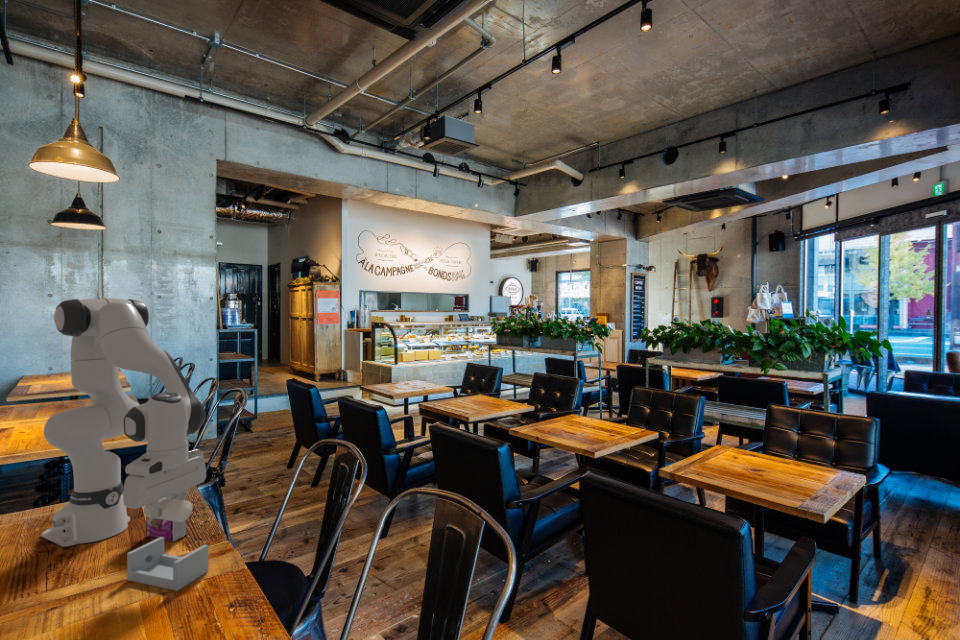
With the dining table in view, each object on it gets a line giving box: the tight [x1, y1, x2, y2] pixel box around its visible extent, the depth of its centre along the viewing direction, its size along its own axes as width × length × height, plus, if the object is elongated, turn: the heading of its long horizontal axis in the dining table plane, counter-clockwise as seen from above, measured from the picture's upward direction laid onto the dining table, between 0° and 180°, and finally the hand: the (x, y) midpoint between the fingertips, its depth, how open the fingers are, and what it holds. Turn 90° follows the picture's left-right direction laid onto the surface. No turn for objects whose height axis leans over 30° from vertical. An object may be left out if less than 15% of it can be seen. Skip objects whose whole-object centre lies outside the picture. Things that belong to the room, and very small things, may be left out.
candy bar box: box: [145, 492, 188, 543], centre depth 140 cm, size 11×5×16 cm, turn 71°
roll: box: [143, 498, 193, 522], centre depth 119 cm, size 10×5×5 cm, turn 74°
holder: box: [126, 537, 209, 592], centre depth 119 cm, size 16×9×7 cm, turn 74°
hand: (168, 512), depth 119 cm, fingers closed on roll, 5 cm apart
